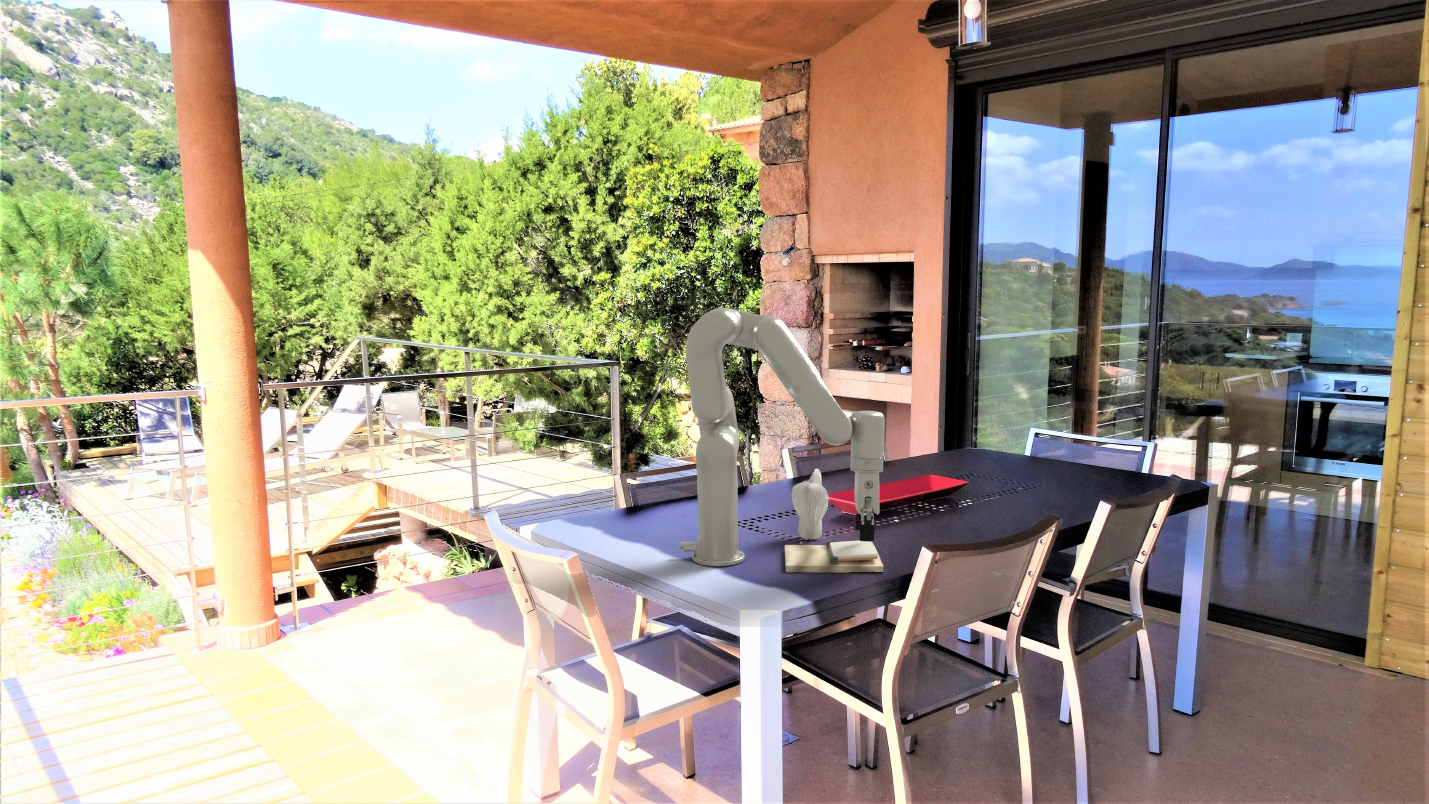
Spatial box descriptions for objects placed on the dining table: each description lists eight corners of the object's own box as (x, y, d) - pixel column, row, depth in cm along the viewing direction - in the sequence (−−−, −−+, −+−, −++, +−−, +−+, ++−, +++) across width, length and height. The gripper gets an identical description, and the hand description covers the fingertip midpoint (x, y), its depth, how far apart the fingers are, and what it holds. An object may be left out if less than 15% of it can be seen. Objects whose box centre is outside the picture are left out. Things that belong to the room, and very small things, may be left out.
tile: (877, 553, 197) (877, 558, 198) (871, 539, 209) (871, 544, 209) (831, 556, 198) (831, 561, 198) (827, 542, 210) (828, 547, 210)
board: (785, 571, 197) (785, 558, 196) (784, 550, 214) (784, 538, 213) (883, 572, 195) (883, 559, 195) (874, 551, 212) (874, 539, 212)
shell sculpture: (801, 544, 219) (801, 474, 217) (790, 535, 227) (790, 468, 225) (832, 541, 222) (832, 472, 220) (819, 533, 230) (819, 466, 228)
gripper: (888, 471, 192) (885, 546, 194) (878, 457, 210) (876, 526, 212) (854, 470, 193) (851, 545, 195) (847, 457, 210) (845, 525, 212)
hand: (864, 535), depth 203 cm, fingers open, 9 cm apart
